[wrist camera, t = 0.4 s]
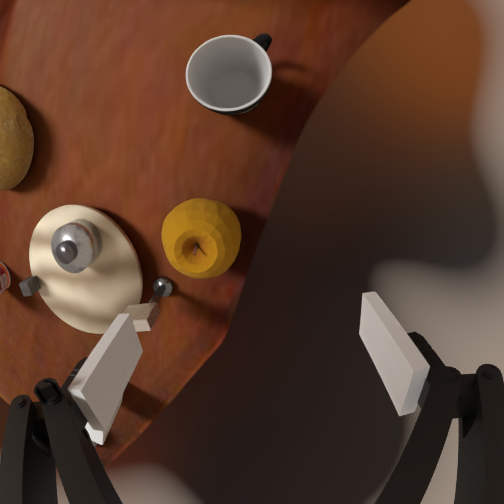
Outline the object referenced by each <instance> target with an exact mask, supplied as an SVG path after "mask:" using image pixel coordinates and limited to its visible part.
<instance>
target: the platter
mask: <svg viewBox="0 0 504 504" xmlns="http://www.w3.org/2000/svg"><path fill="white" fill-rule="evenodd" d="M76 219H86V220H88V221H90V222H91V223H93V224H94V225H95V226H96V228H97V229H98V231H99V233H100V235H101V238H102V251H101V254H100V256H99V258H98V259H97V260H96V261H94V262H93V263H92V264H91V265H89V266H88V267H87V268H86V269H85V270H83V271H82V272H80V273H69V272H67V271H65V270H64V269H62V268H61V267H60V266H59V265H58V264H57V262H56V261H55V259H54V256H53V254H52V249H51V240H52V236H53V234H54V232H55V231H56V230H57V229H58V228H59V227H61V226H63V225H65V224H67V223H69V222H71V221H73V220H76ZM29 258H30V267H31V272H32V276H31V277H28V278H26V279H25V280H23V281H22V282H21V283H19V286H20V288H21V291H22V293H23V296H24V297H25V296H32V295H33V294H34V293H36V292H37V291H39V293H40V295H41V297H42V298H43V300H44V301H45V303H46V304H47V305H48V306H49V308H50V309H51V310H52V311H53V312H54V313H55V314H56V315H57V316H58V317H59V318H61V319H62V320H63V321H64V322H66V323H67V324H69V325H71V326H73V327H74V328H77V329H79V330H81V331H85V332H88V333H95V334H103V333H105V332H106V331H107V330H108V328H109V327H110V325H111V324H112V323H113V321H114V320H115V318H116V317H117V316H118V314H122V313H123V312H124V311H125V309H126V308H127V306H129V305H137V304H140V300H141V297H142V290H143V277H142V269H141V265H140V261H139V258H138V256H137V253H136V251H135V249H134V247H133V245H132V243H131V241H130V240H129V238H128V236H127V235H126V234H125V232H124V231H123V230H122V229H121V227H120V226H119V225H118V224H117V223H116V222H115V221H114V220H112V219H111V218H110V217H109V216H107V215H106V214H104V213H103V212H101V211H99V210H97V209H95V208H93V207H90V206H86V205H81V204H69V205H65V206H61V207H59V208H56V209H54V210H52V211H50V212H49V213H47V214H46V215H45V216H44V217H43V218H42V219H41V220H40V222H39V223H38V224H37V226H36V228H35V230H34V232H33V235H32V238H31V243H30V251H29Z"/></svg>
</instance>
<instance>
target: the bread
mask: <svg viewBox="0 0 504 504" xmlns="http://www.w3.org/2000/svg"><path fill="white" fill-rule="evenodd" d="M33 151H34V134H33V130H32V126H31V123H30V122H29V120H28V119H27V116H26V110H25V109H24V107H23V105H22V104H21V103H20V101H19V100H18V99H17V98H16V97H15V95H14V94H12V93H11V92H10V91H8V90H7V89H5V88H3V87H1V86H0V190H8V189H11V188H13V187H15V186H16V185H18V184H19V183H20V182H21V181H22V180H23V178H24V177H25V175H26V174H27V172H28V170H29V167H30V164H31V160H32V157H33Z"/></svg>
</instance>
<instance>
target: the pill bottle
mask: <svg viewBox="0 0 504 504" xmlns="http://www.w3.org/2000/svg"><path fill="white" fill-rule="evenodd" d="M10 282H11V278H10V274H9V271H8V269H7V268H6V266H5V265H4V264H3V263H2V262H0V294H1V293H2V292H3V291H5V290H6V289H7V288H8V287H9V286H10Z"/></svg>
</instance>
